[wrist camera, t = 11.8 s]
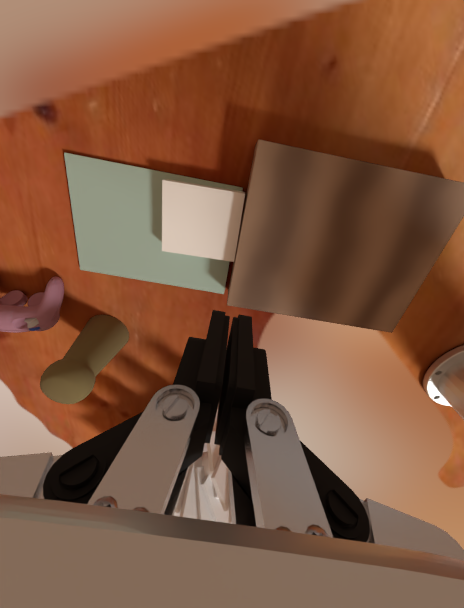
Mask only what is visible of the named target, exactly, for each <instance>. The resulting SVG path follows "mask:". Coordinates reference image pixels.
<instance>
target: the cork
mask: <svg viewBox="0 0 464 608" xmlns="http://www.w3.org/2000/svg"><path fill="white" fill-rule="evenodd" d="M128 339H129V332H128V330H127V328H126V326H125V325H124V324H123V323H122V322H121V321H119V320H118V319H116V318H114V317H112V316H109V315H96V316H94V317H92V318H91V319H90V320H89V321H88V322H87V324H86V325H85V327H84V328H83V330H82V331H81V333H80V334H79V336H78V337H77V339H76V340H75V342H74V343H73V344H72V346H71V347H70V349H69V350H68V352H67V353H66V355H65V356H64V358H63V359H61V360H58V361H56V362H54V363H53V364H51V365H50V366H49V367H48V368H47V369H46V370H45V371H44V373H43V374H42V376H41V381H40V387H41V390H42V391H43V393H44V394H45V395H46V396H47V397H49V398H50V399H51V400H53V401H55V402H59V403H63V404H75V403H77V402H79V401H81V400H83V399H84V398H86V397H87V396H88V395H89V394H90V392H91V391H92V389H93V387H94V384H95V377H96V376H97V374H98V373H99V372H100V371H101V370H102V369H103V368H104V367H105V366H106V365H107V364H108V363H109V362H110V360H111V359H112V358H113V357H114V356H115V355H116V354H117V353H118V352H119V351H120V350H121V349H122V348H123V346H124V345H125V344H126V343H127V342H128Z"/></svg>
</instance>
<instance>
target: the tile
mask: <svg viewBox="0 0 464 608" xmlns="http://www.w3.org/2000/svg"><path fill="white" fill-rule="evenodd" d="M244 197H245V192H242V191H236V190H230V189H224V188H218V187H212V186H206V185H200V184H194V183H188V182H182V181H176V180H170V179H165V180H162V251H165V252H172V253H178V254H185V255H191V256H198V257H205V258H211V259H218V260H225V261H231V262H234V260H235V254H236V248H237V241H238V235H239V229H240V222H241V216H242V210H243V204H244Z"/></svg>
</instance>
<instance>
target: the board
mask: <svg viewBox="0 0 464 608" xmlns="http://www.w3.org/2000/svg"><path fill="white" fill-rule="evenodd" d="M463 216H464V183H463V182H458V181H453V180H449V179H444V178H439V177H434V176H430V175H425V174H420V173H416V172H411V171H406V170H401V169H397V168H392V167H387V166H382V165H378V164H373V163H368V162H363V161H359V160H354V159H349V158H344V157H340V156H335V155H330V154H325V153H321V152H316V151H311V150H307V149H302V148H297V147H292V146H288V145H283V144H278V143H273V142H269V141H264V140H258V141H257V143H256V146H255V151H254V157H253V162H252V167H251V173H250V178H249V183H248V189H247V194H246V199H245V204H244V210H243V215H242V220H241V226H240V231H239V236H238V242H237V248H236V254H235V260H234V263H233V268H232V274H231V279H230V284H229V290H228V300H227V305H229V306H235V307H241V308H247V309H253V310H259V311H265V312H271V313H277V314H283V315H289V316H295V317H301V318H307V319H313V320H319V321H326V322H331V323H337V324H344V325H350V326H356V327H361V328H367V329H373V330H379V331H385V332H391V333H392V332H393V330H394V329H395V327H396V325H397V324H398V322H399V320H400V319H401V317H402V316H403V314H404V312H405V311H406V309H407V307H408V306H409V304H410V303H411V301H412V299H413V298H414V296H415V294H416V293H417V291H418V290H419V288H420V286H421V285H422V283H423V281H424V280H425V278H426V277H427V275H428V273H429V272H430V270H431V268H432V267H433V265H434V264H435V262H436V260H437V259H438V257H439V255H440V254H441V252H442V251H443V249H444V247H445V246H446V244H447V242H448V241H449V239H450V238H451V236H452V234H453V233H454V231H455V229H456V228H457V226H458V225H459V223H460V221H461V220H462V218H463Z"/></svg>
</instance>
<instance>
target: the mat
mask: <svg viewBox="0 0 464 608" xmlns="http://www.w3.org/2000/svg"><path fill="white" fill-rule="evenodd" d="M64 156H65V164H66V171H67V178H68V185H69V192H70V200H71V207H72V214H73V221H74V228H75V235H76V243H77V250H78V257H79V264H80V270H85V271H91V272H97V273H103V274H109V275H115V276H120V277H126V278H132V279H138V280H144V281H150V282H156V283H162V284H168V285H174V286H179V287H185V288H191V289H197V290H203V291H209V292H215V293H221V294H224V290H225V285H226V279H227V274H228V268H229V262H230V261H225V260H218V259H211V258H205V257H198V256H191V255H185V254H178V253H172V252H165V251H162V180H165V179H170V180H176V181H182V182H188V183H194V184H200V185H206V186H212V187H218V188H224V189H230V190H236V191H242V190H243V188H242V187H237V186H232V185H227V184H222V183H217V182H212V181H207V180H202V179H197V178H192V177H187V176H181V175H176V174H171V173H166V172H161V171H156V170H151V169H146V168H141V167H136V166H131V165H126V164H121V163H116V162H111V161H106V160H101V159H95V158H90V157H85V156H80V155H75V154H70V153H64Z"/></svg>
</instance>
